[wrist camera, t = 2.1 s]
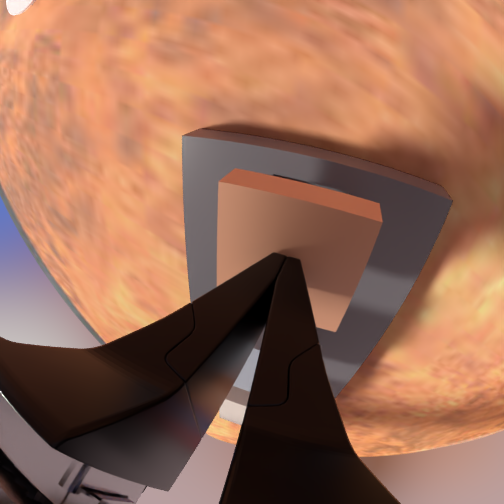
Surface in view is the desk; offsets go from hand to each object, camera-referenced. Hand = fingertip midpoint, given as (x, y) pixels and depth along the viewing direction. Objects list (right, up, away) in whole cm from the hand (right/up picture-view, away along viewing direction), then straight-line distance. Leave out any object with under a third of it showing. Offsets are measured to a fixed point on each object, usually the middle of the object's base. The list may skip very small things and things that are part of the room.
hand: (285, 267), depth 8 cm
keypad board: (+1, -3, +8) cm, 8 cm away
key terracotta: (+1, +1, +2) cm, 2 cm away
